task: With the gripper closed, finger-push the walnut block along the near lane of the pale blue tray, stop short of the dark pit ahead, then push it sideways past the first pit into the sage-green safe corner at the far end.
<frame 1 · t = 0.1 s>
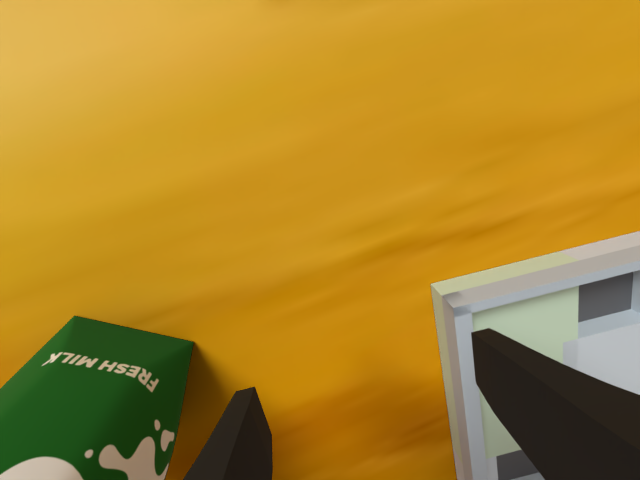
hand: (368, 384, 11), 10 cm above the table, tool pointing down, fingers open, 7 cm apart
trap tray: (552, 399, 26), on the table
milk carton: (128, 372, 22), on the table
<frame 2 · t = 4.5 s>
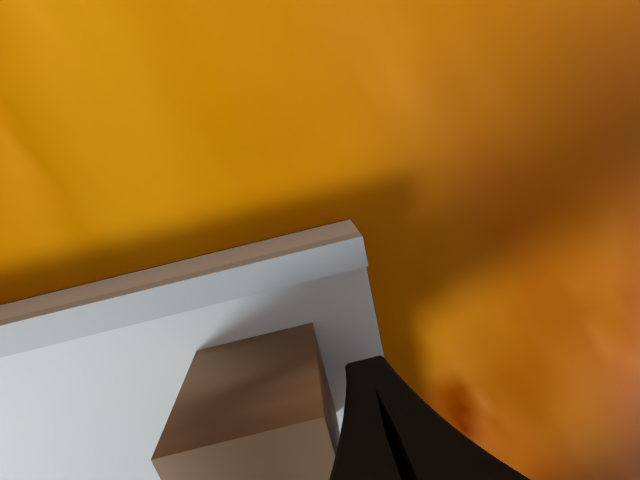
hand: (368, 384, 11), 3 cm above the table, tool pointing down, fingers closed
walnut block: (270, 383, 12), point 2 cm above the table, touching gripper, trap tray
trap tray: (113, 463, 14), on the table
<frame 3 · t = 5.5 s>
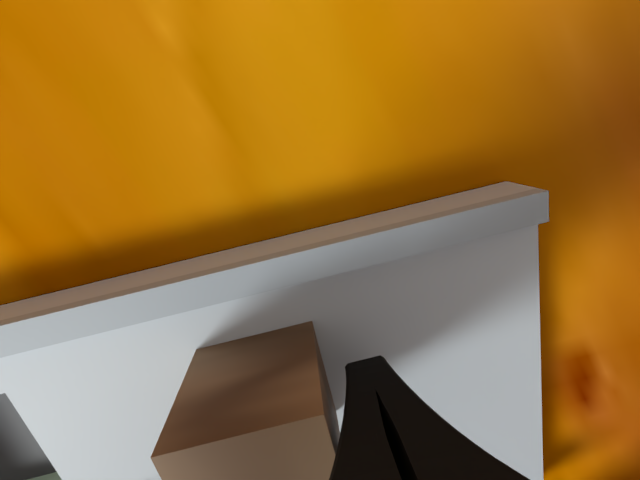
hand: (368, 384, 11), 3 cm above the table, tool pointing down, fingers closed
walnut block: (270, 382, 12), point 2 cm above the table, touching gripper
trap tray: (247, 429, 15), on the table
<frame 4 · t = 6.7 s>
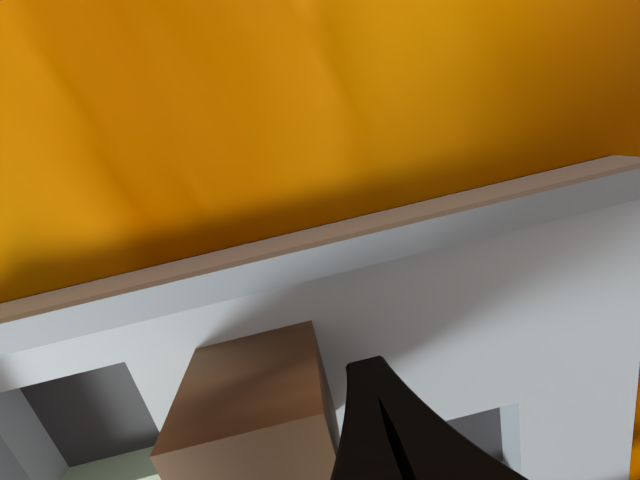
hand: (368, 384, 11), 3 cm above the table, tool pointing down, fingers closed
walnut block: (269, 381, 12), point 2 cm above the table, touching gripper, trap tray
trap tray: (338, 405, 15), on the table
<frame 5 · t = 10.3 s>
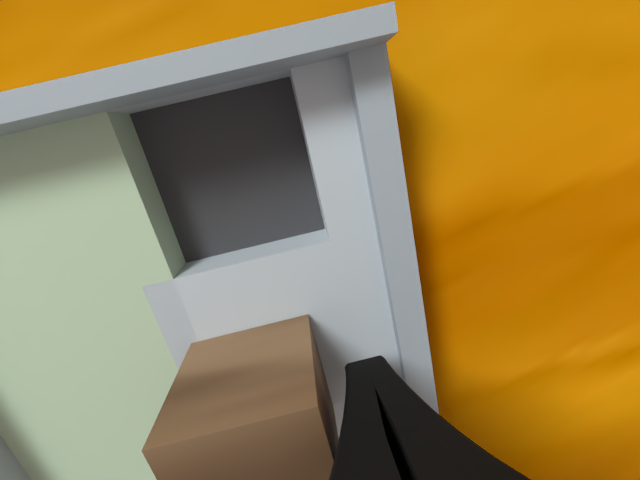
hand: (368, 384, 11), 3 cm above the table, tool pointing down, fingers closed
walnut block: (266, 376, 12), point 2 cm above the table, touching gripper, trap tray
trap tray: (228, 403, 14), on the table
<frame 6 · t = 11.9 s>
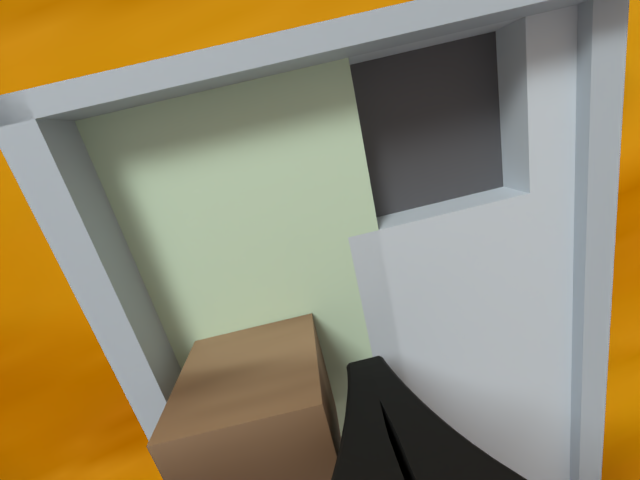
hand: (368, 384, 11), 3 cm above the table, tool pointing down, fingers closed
walnut block: (269, 375, 12), point 2 cm above the table, touching gripper, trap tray
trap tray: (382, 364, 14), on the table
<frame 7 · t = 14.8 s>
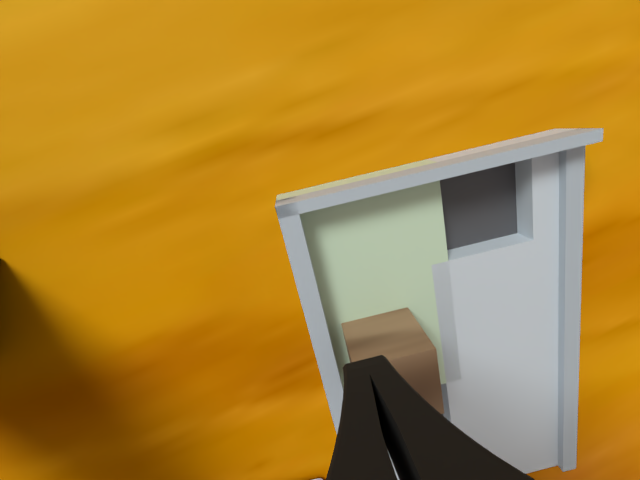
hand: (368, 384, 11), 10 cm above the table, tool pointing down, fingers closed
walnut block: (379, 343, 20), point 2 cm above the table, touching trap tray
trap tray: (439, 340, 23), on the table
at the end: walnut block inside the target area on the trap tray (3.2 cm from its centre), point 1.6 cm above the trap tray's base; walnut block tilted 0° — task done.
